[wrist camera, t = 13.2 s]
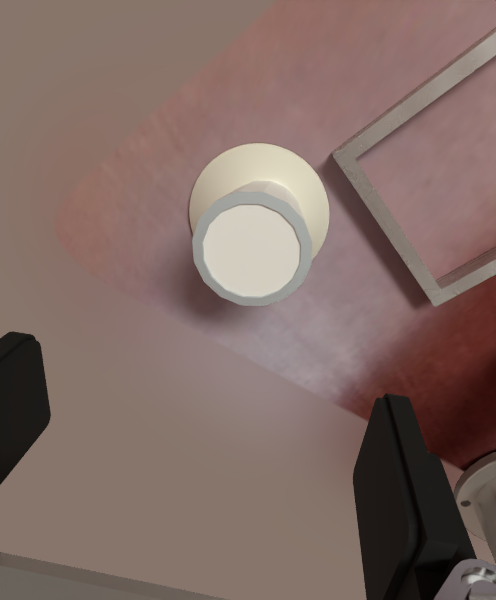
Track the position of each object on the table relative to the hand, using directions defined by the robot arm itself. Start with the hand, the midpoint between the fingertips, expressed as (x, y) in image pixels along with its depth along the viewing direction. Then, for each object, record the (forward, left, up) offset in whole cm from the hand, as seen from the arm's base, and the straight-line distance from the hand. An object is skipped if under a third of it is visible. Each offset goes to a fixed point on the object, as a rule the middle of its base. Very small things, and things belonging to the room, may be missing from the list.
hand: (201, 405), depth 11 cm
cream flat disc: (0, +1, -20) cm, 20 cm away
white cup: (0, 0, -20) cm, 20 cm away
